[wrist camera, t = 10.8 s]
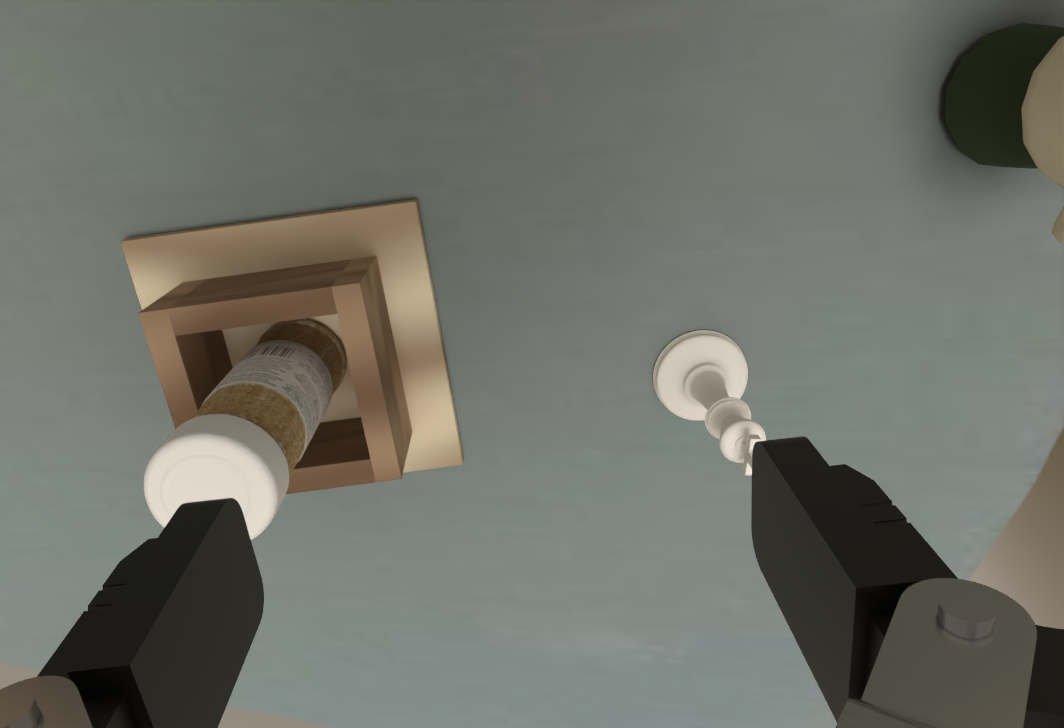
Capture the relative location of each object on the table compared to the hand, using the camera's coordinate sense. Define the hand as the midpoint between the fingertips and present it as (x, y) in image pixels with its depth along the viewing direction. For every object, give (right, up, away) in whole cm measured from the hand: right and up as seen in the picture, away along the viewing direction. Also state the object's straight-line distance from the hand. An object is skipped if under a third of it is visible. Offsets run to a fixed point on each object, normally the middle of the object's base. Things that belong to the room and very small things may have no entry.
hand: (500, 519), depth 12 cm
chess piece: (+9, +2, +29) cm, 31 cm away
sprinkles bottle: (-11, +3, +27) cm, 29 cm away
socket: (-11, +3, +28) cm, 30 cm away
